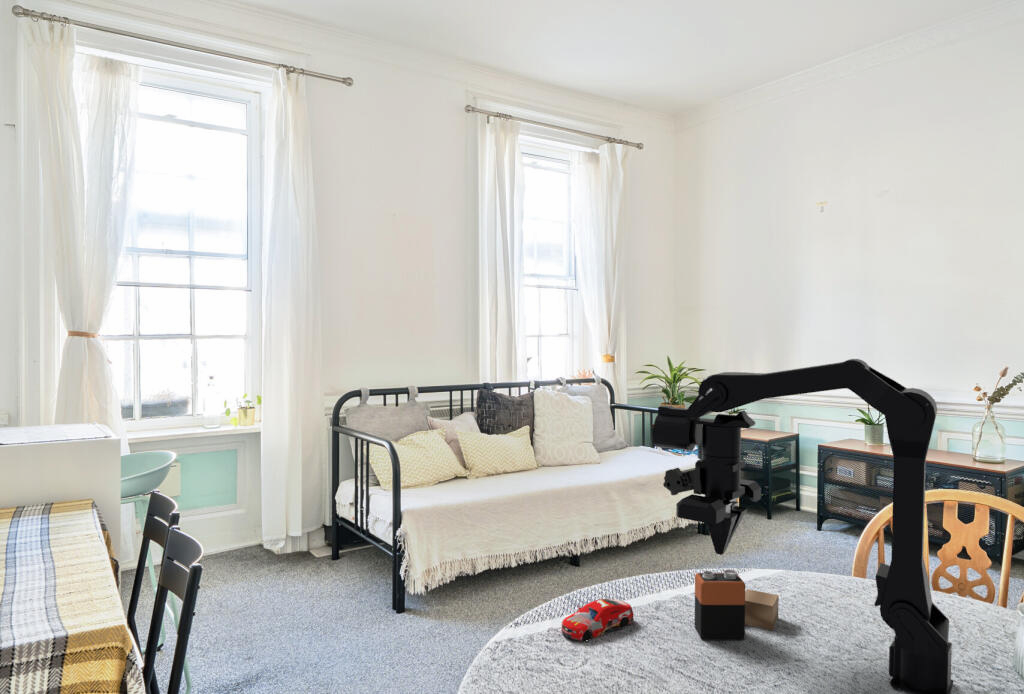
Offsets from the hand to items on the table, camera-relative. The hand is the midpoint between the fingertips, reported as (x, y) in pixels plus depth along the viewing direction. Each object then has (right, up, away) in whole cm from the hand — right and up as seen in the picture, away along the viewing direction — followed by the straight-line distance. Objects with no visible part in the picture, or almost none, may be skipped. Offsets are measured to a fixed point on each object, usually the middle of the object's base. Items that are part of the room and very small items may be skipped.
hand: (719, 553), depth 106 cm
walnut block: (+8, -13, +6) cm, 16 cm away
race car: (-19, -13, +3) cm, 23 cm away
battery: (0, -13, +1) cm, 13 cm away
